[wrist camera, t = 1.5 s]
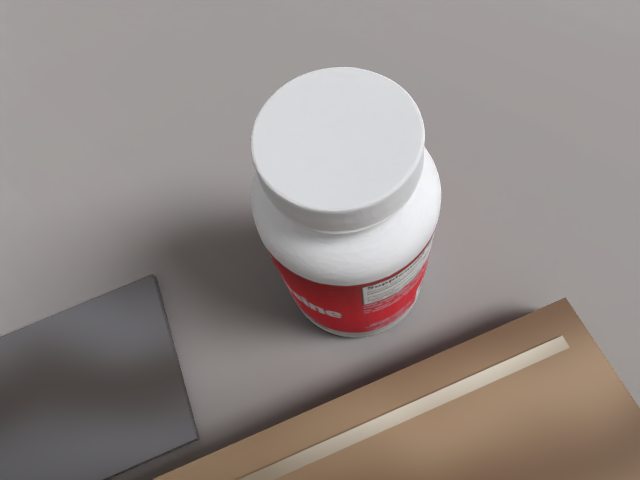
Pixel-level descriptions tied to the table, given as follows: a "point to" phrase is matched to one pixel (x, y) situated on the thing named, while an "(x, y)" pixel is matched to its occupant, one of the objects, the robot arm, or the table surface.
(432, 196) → the pill bottle
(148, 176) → the table surface
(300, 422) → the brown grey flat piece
